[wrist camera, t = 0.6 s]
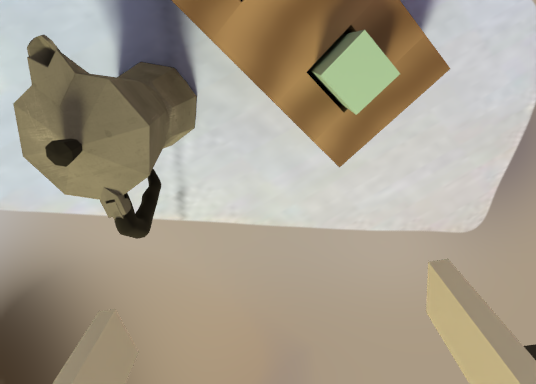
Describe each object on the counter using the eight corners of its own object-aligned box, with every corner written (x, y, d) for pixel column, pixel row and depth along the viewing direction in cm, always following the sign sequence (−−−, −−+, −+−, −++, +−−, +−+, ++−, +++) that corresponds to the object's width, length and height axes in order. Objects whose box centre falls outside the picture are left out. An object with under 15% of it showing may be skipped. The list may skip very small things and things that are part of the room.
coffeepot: (92, 53, 32) (-91, 55, 16) (177, 30, 31) (74, 8, 15) (149, 183, 38) (59, 282, 22) (220, 168, 37) (182, 259, 21)
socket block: (158, -25, 29) (121, -50, 22) (241, -150, 25) (229, -231, 18) (325, 143, 36) (339, 167, 29) (409, 64, 32) (450, 68, 25)
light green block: (308, 69, 28) (320, 75, 22) (341, 34, 27) (364, 29, 20) (336, 100, 30) (356, 114, 23) (368, 68, 28) (400, 73, 22)
